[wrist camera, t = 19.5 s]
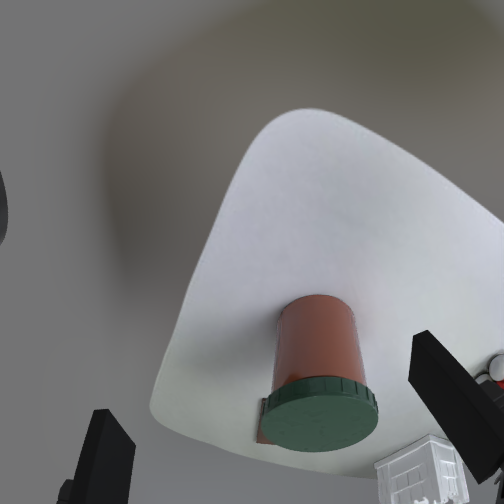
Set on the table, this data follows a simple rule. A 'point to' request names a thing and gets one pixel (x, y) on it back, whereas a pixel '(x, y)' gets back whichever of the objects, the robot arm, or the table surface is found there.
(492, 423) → the robot arm
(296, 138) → the table surface
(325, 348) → the jar
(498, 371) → the rainbow fan wheeled toy
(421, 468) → the castle model
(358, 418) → the lid
